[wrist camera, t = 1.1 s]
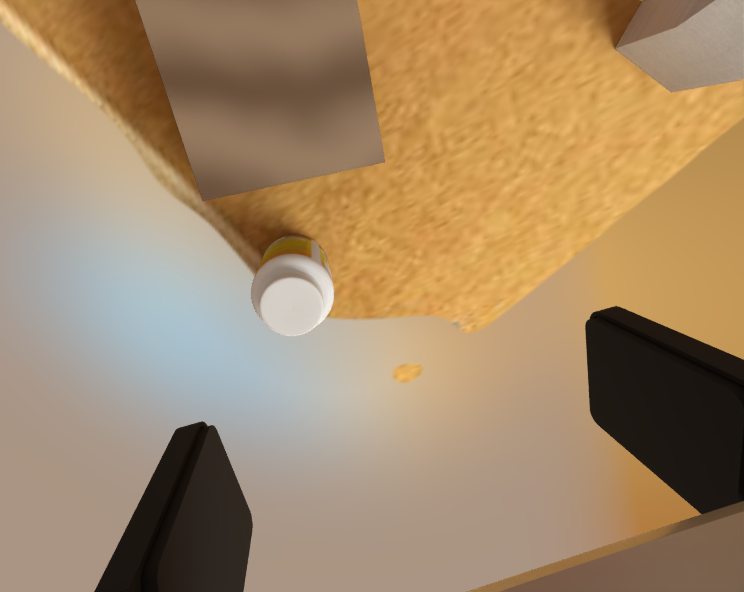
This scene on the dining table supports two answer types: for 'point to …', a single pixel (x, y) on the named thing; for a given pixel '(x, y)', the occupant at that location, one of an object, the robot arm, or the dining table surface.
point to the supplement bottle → (293, 286)
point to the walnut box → (265, 89)
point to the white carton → (687, 42)
